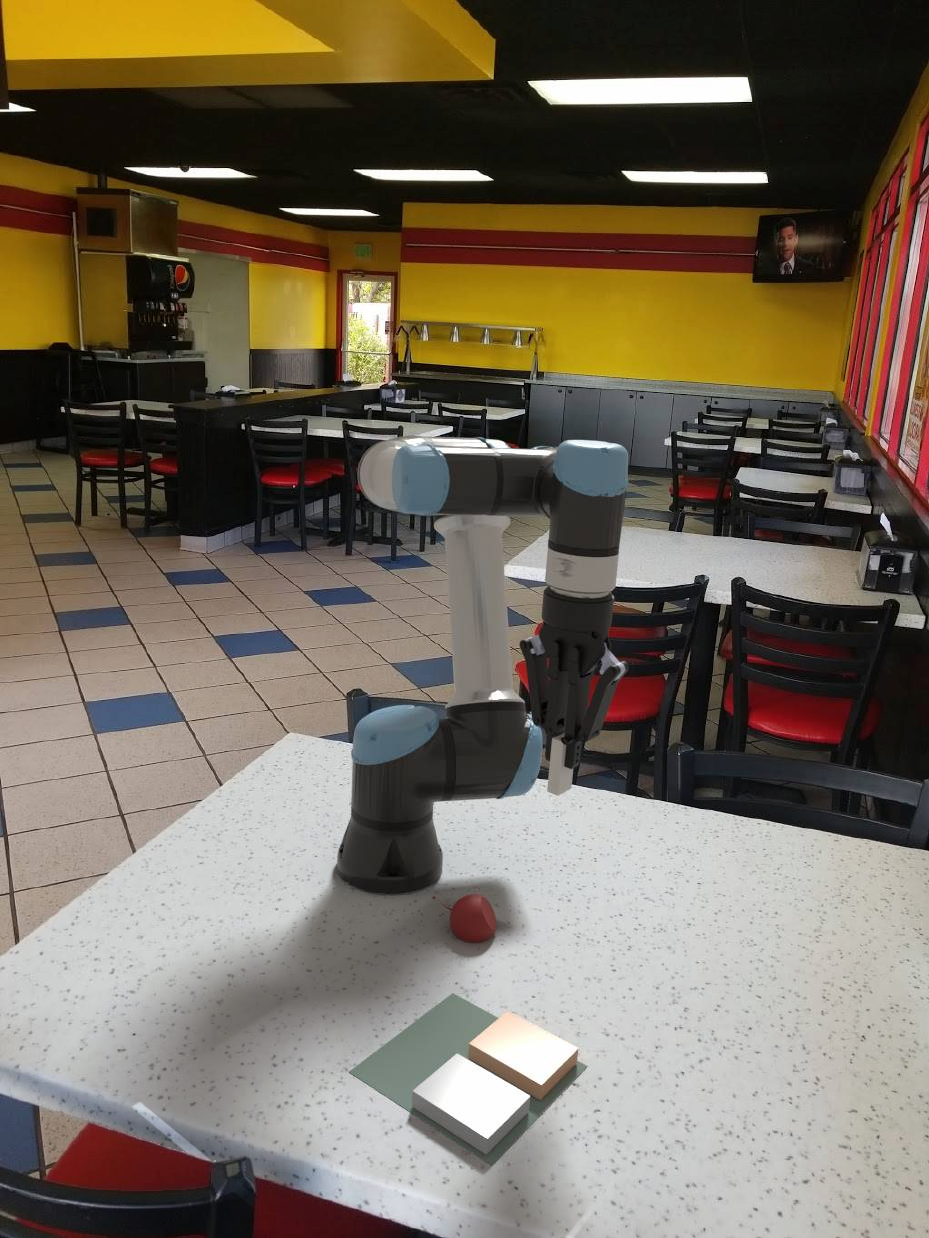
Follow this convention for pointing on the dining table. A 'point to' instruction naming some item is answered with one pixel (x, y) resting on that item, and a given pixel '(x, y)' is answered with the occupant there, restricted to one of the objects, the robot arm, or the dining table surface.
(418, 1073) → the mat
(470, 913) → the fruit
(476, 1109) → the white flat block
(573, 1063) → the terracotta tile
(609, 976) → the dining table surface
